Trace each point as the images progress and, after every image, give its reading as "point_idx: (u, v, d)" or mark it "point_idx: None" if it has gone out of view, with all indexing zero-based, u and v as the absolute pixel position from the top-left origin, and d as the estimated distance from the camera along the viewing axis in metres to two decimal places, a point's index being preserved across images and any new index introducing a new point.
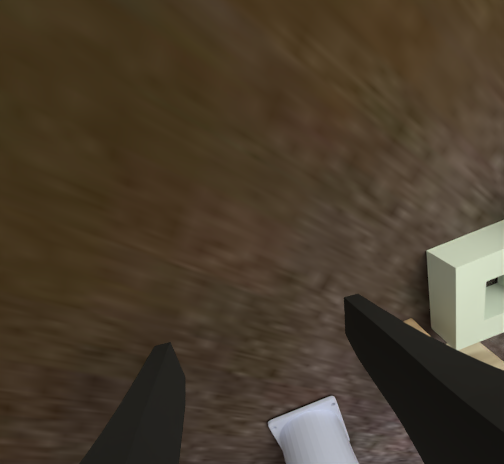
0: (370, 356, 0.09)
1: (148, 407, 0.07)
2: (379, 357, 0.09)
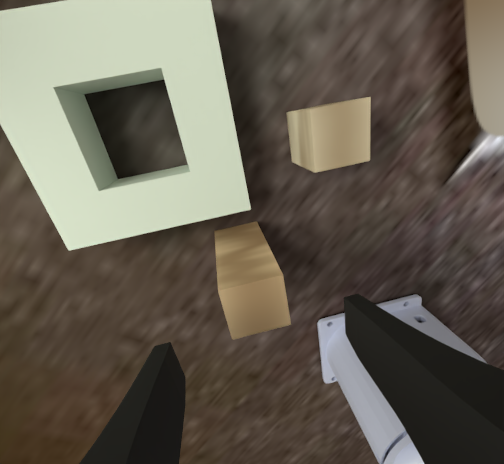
0: (370, 356, 0.09)
1: (148, 407, 0.07)
2: (379, 357, 0.09)
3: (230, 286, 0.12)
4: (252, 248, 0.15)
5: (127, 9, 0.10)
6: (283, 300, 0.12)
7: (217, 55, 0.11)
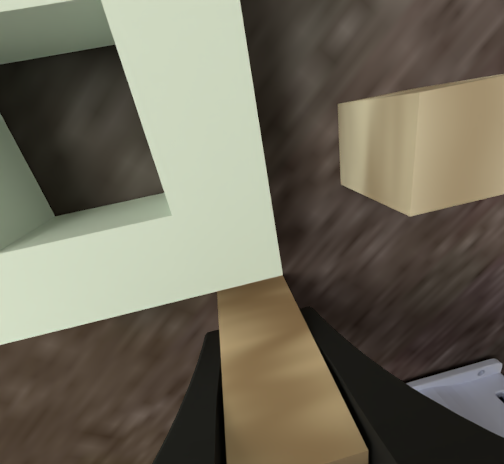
0: None
1: (219, 388, 0.07)
2: None
3: None
4: (285, 343, 0.08)
5: None
6: None
7: None
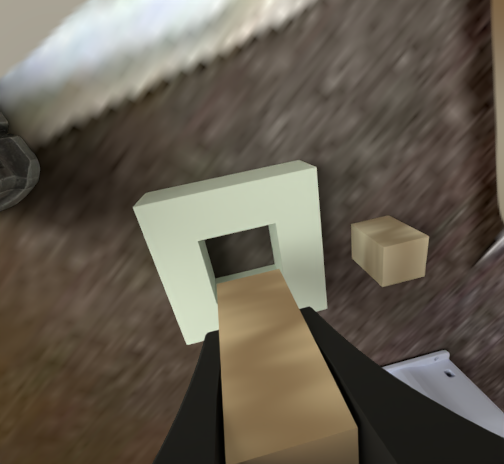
0: None
1: (219, 388, 0.07)
2: None
3: (251, 453, 0.06)
4: (281, 333, 0.09)
5: (258, 190, 0.14)
6: (351, 463, 0.06)
7: (317, 212, 0.15)
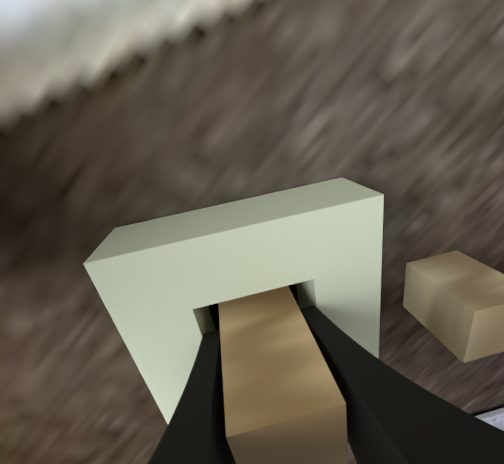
0: None
1: (214, 389, 0.07)
2: None
3: (248, 426, 0.06)
4: (278, 321, 0.09)
5: (290, 232, 0.09)
6: (341, 437, 0.07)
7: (377, 261, 0.10)
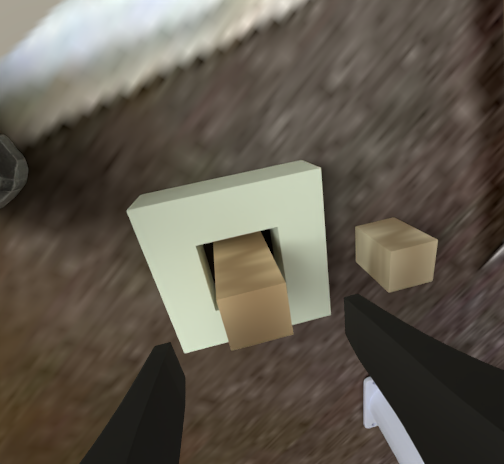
0: (370, 356, 0.09)
1: (148, 407, 0.07)
2: (379, 357, 0.09)
3: (229, 295, 0.11)
4: (252, 253, 0.14)
5: (259, 192, 0.13)
6: (285, 309, 0.12)
7: (321, 215, 0.14)
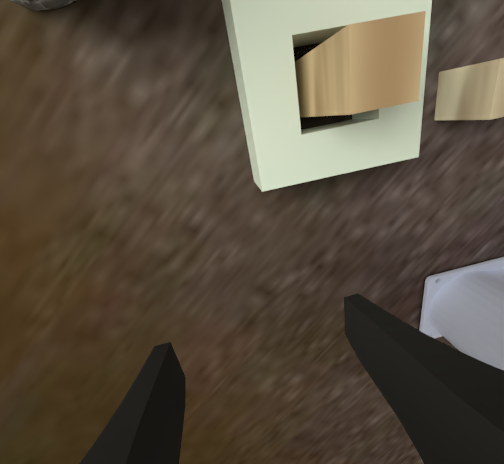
0: (370, 356, 0.09)
1: (148, 407, 0.07)
2: (379, 357, 0.09)
3: (362, 22, 0.09)
4: None
5: None
6: (417, 57, 0.10)
7: (427, 9, 0.13)
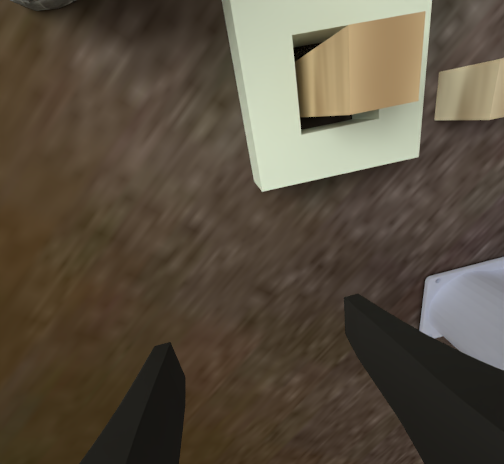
0: (370, 356, 0.09)
1: (148, 407, 0.07)
2: (379, 357, 0.09)
3: (361, 23, 0.09)
4: None
5: None
6: (417, 57, 0.10)
7: (427, 9, 0.13)
